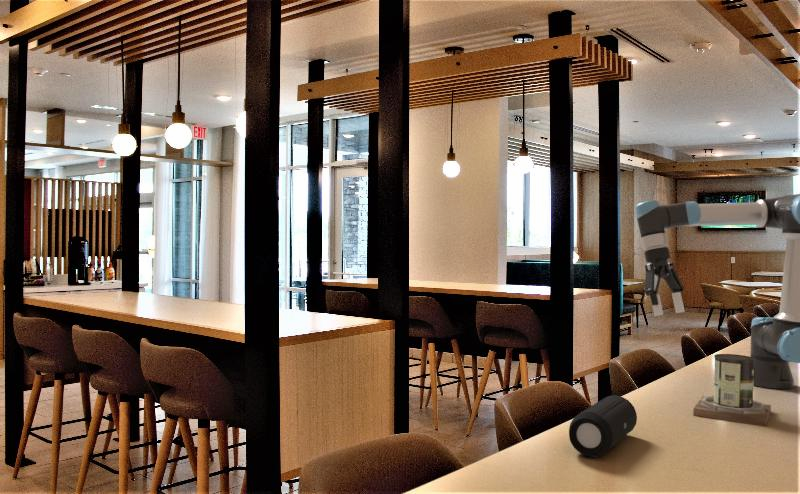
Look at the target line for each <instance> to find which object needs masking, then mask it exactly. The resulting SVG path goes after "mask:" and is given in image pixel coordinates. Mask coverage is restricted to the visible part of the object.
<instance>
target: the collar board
mask: <svg viewBox="0 0 800 494" xmlns="http://www.w3.org/2000/svg"><path fill="white" fill-rule="evenodd" d="M713 403H714V395H703V396H701V398H700V400H699V401H697V403H696V404H695V406H694V407H693V415H692V416H696V417H702V418H708V419H716V420H722V421H723V420H725V421H729V422H731V421H732V422H736V423H737V422H738V423H742V424H743V423H745V424H752V425H756V426H757V425H759V426H765V427H767V425H768V422H769V419H770V415H771V412H772V411H771V409H772V408H771V406H772V405H771V404H768V403H767V404H766V403H764V402H760V401H758V400H755V399H753V408H750V409H739V408H732V407H725V406H718V405H715V404H713Z"/></svg>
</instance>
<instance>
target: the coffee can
mask: <svg viewBox="0 0 800 494" xmlns="http://www.w3.org/2000/svg"><path fill="white" fill-rule="evenodd" d="M754 361H755V358H753V357H750V355H749V356H748V355H742V354H733V353H717V354H714V375H713V376H714V378H713V379H714V383H713V396H714V403H713V404H715V405H718V406H725V407H732V408H739V409H750V408H753V400H754V385H753V384H754Z"/></svg>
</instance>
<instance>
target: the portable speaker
mask: <svg viewBox="0 0 800 494" xmlns="http://www.w3.org/2000/svg"><path fill="white" fill-rule="evenodd" d="M637 421H638V416H637V411H636V408H635V406H634V405H633V403H632V402H631V401H629V400H628V399H627V398H625V397H623V396H620V395H615V394H611V395H608V396H606V397H604V398H602V399H601V400H599V401H597V402H595V403H594V404H593V405H590V406H588V408H586V409H584V410H583V411H581V412H580V413H577V415H575V416H574V417H573V419H572V420H571V421H570V423H569V428H568V435H569V436H568V437H569V441H570V443H571V445H572V447H573V448H574V450H576V451H577V452H578V453H580V454H582V455H584V456H586V455H587V456H586V457H590V456H598V457H601V456H603V455H604V454H606V453H608V452H609V450H610V449H612V447H613V448H614V446H615V445H616V444H618V442H619V441H621V440H622V439H624V438H625V437H626V436H627V435H628V434H629V433H631V432H632V431H633V430H634V428H635V426H636V425H637Z"/></svg>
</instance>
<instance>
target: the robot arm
mask: <svg viewBox="0 0 800 494" xmlns="http://www.w3.org/2000/svg"><path fill="white" fill-rule="evenodd" d="M659 202H660V201H658V200H655V199H654V200H647V201H643V202H642V201H641V202H640V203H638V204H637V205H635V216H636V217H635V218H636V221H637V225H638V229H639V234H640V237H641V245H642V247H643V250H644V258H645V262H646V264H645V265H644V268H645V277H644V278H645V279H644V282H645V283H644V294H645V296H647V297H649V296H650V303H651V307H652V311H653V316H654V317H659V316H664V315H665V314H664V310H663V305H662V301H661V297H660V296H661V295H660V294H659V293H658V292H659V287H660V284H661V283H660V282H661V278H662V279H664V282H666V284H667V285H668V287H669V288H670V290H671V291H672V293H671V298H672V302H673V305H674V311H675V314H679V313H680V314H681V313H685V312H686V310H685V307H684V300H683V298H682V292H684V290H685V289H684V285H683V284H682V281H681V280H680V276H679V275H678V273H677V270H676V269H675V266H674V262H673V261H672V262H668V260H669V259H671V254H670V249H669V247H667V246H668V244H669V243H668V238H667V236H666V231H665V229H671V228H677V227H679V228H680V227H702V226H703V227H706V226H707V227H708V226H712V227H713V226H750V225H751V226H753V225H755V226H756V227H757V228H771V229H781V231H782V232H781V235H782V236H783V237H784V238H785V239H786V243H785V251H784V254H785V255H784V263H783V273H782V283H781V291H780V301H779V302H780V304H779V312H777V314H776V315H774V316H773V317H771V316H770V317H768V316H767V317H764V316H763V317H761V316H760V317H759V316H758V317H754V318H753V319H752V320H751V325H750V355H749V357H753V358H755V361H754V384H753V387H759V388H766V389H777V390H788V389H793V388H795V380H794V376H793V373H792V371H791V367H790V364H789V363H794V364H795V363H796V364H800V193H796V194H788V195H781V196H778V197H773V198H762V199H757V200H756V201H755V202H730V203H729V202H728V203H727V202H726V203H725V202H723V203H698V202H697V201H694V200H693V201H684V202H679V203H672V204H671V203H669V204H660V203H659Z"/></svg>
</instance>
